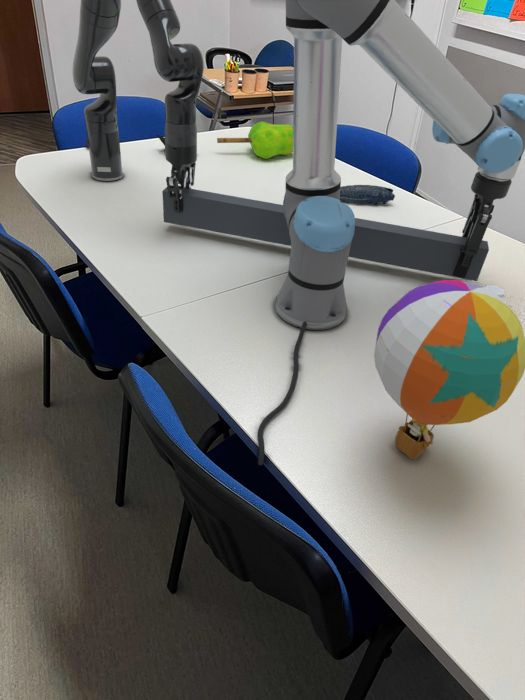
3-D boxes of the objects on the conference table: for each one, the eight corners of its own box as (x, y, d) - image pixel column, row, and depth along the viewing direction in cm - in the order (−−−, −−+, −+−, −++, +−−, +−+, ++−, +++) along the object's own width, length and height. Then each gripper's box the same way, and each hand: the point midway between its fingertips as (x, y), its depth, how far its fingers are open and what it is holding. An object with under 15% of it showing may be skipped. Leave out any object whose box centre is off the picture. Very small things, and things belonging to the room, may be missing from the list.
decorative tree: (214, 118, 187) (294, 118, 193) (214, 147, 194) (292, 146, 199) (220, 132, 174) (307, 132, 179) (220, 164, 180) (304, 162, 185)
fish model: (393, 208, 159) (397, 192, 156) (325, 201, 160) (327, 185, 157) (391, 200, 165) (395, 185, 161) (325, 193, 165) (328, 178, 162)
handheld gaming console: (200, 148, 184) (184, 127, 176) (190, 164, 183) (174, 144, 175) (177, 144, 191) (162, 124, 182) (167, 160, 189) (151, 141, 181)
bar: (475, 272, 126) (487, 241, 121) (476, 281, 123) (489, 249, 118) (170, 215, 139) (169, 184, 133) (163, 222, 135) (162, 190, 130)
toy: (324, 440, 84) (359, 279, 65) (398, 390, 94) (447, 240, 76) (424, 525, 73) (502, 362, 54) (495, 458, 83) (581, 302, 65)
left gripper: (177, 129, 129) (178, 195, 140) (153, 146, 118) (157, 216, 129) (206, 134, 128) (205, 200, 139) (184, 152, 117) (185, 222, 128)
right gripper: (473, 159, 118) (442, 251, 132) (479, 186, 104) (443, 285, 118) (508, 165, 116) (472, 257, 131) (517, 193, 103) (476, 292, 117)
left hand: (182, 207), depth 134 cm, fingers closed on bar, 4 cm apart
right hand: (458, 270), depth 125 cm, fingers closed on bar, 5 cm apart
